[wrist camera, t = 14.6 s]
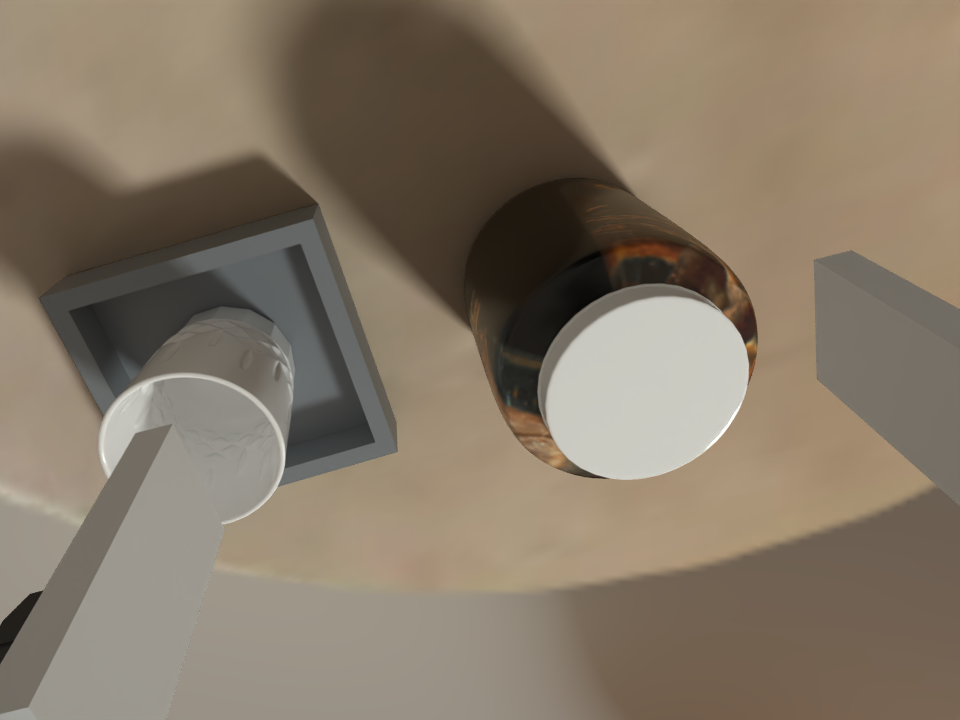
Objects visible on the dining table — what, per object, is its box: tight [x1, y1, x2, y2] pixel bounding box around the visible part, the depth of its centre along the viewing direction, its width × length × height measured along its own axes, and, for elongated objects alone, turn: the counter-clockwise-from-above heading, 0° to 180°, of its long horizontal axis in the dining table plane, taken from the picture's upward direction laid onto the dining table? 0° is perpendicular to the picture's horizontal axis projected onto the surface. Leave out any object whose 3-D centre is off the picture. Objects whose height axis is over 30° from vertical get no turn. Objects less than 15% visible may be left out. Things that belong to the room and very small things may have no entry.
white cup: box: [98, 306, 295, 525], centre depth 37 cm, size 8×8×10 cm
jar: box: [464, 178, 758, 480], centre depth 37 cm, size 12×12×15 cm
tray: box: [39, 204, 398, 487], centre depth 41 cm, size 14×14×4 cm
